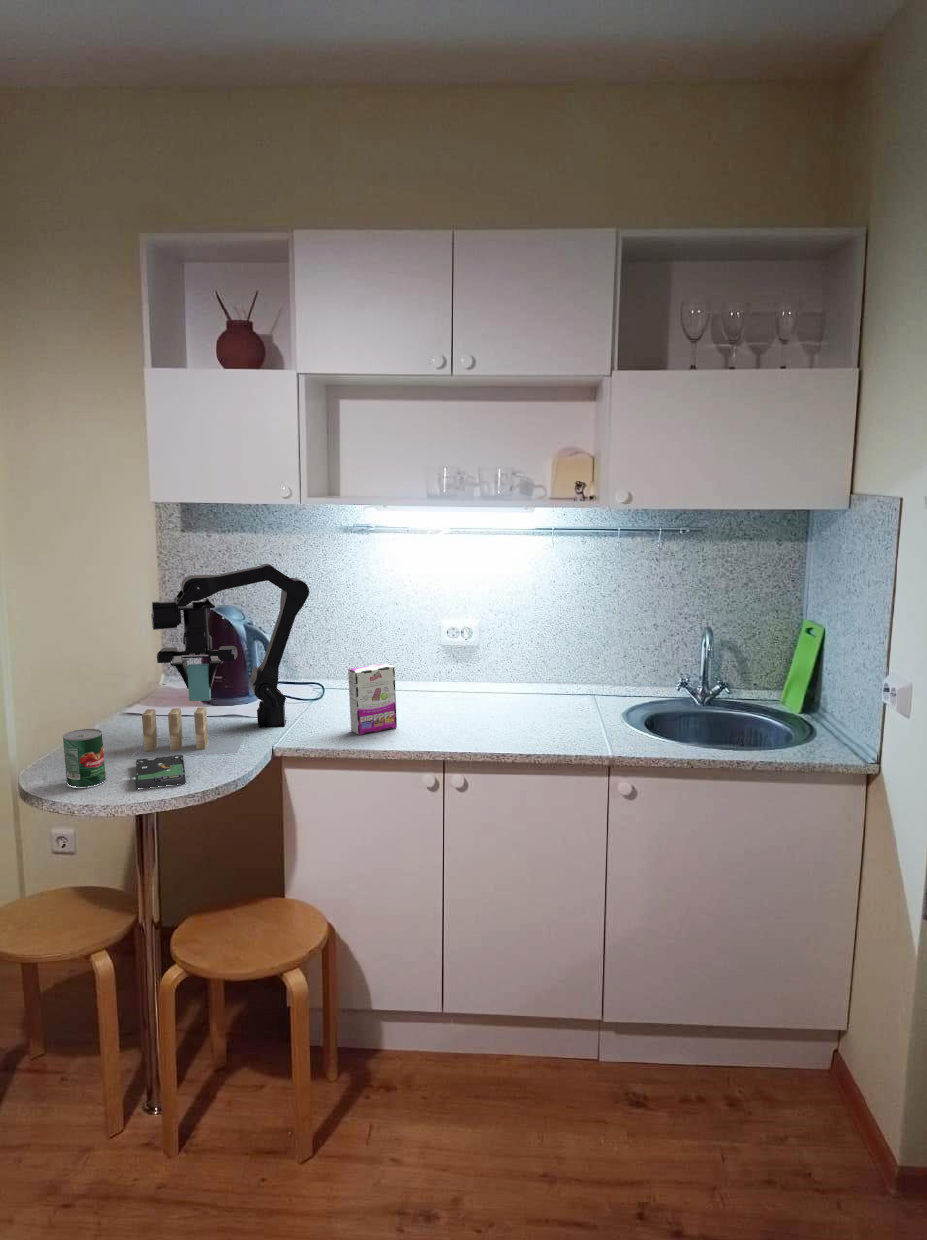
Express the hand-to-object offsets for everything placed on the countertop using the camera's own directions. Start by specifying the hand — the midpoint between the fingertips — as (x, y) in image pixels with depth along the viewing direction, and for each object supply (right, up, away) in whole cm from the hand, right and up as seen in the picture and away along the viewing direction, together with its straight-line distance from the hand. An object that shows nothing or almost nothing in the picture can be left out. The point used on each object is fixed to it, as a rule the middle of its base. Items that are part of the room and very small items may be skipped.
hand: (199, 687), depth 234 cm
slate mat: (0, -14, -10) cm, 17 cm away
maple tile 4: (-9, -14, -11) cm, 19 cm away
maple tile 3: (-3, -14, -10) cm, 17 cm away
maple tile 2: (+3, -13, -9) cm, 17 cm away
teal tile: (0, -3, +1) cm, 3 cm away
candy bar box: (+43, -11, +4) cm, 45 cm away
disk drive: (-1, -18, -28) cm, 34 cm away
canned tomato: (-15, -18, -32) cm, 40 cm away
